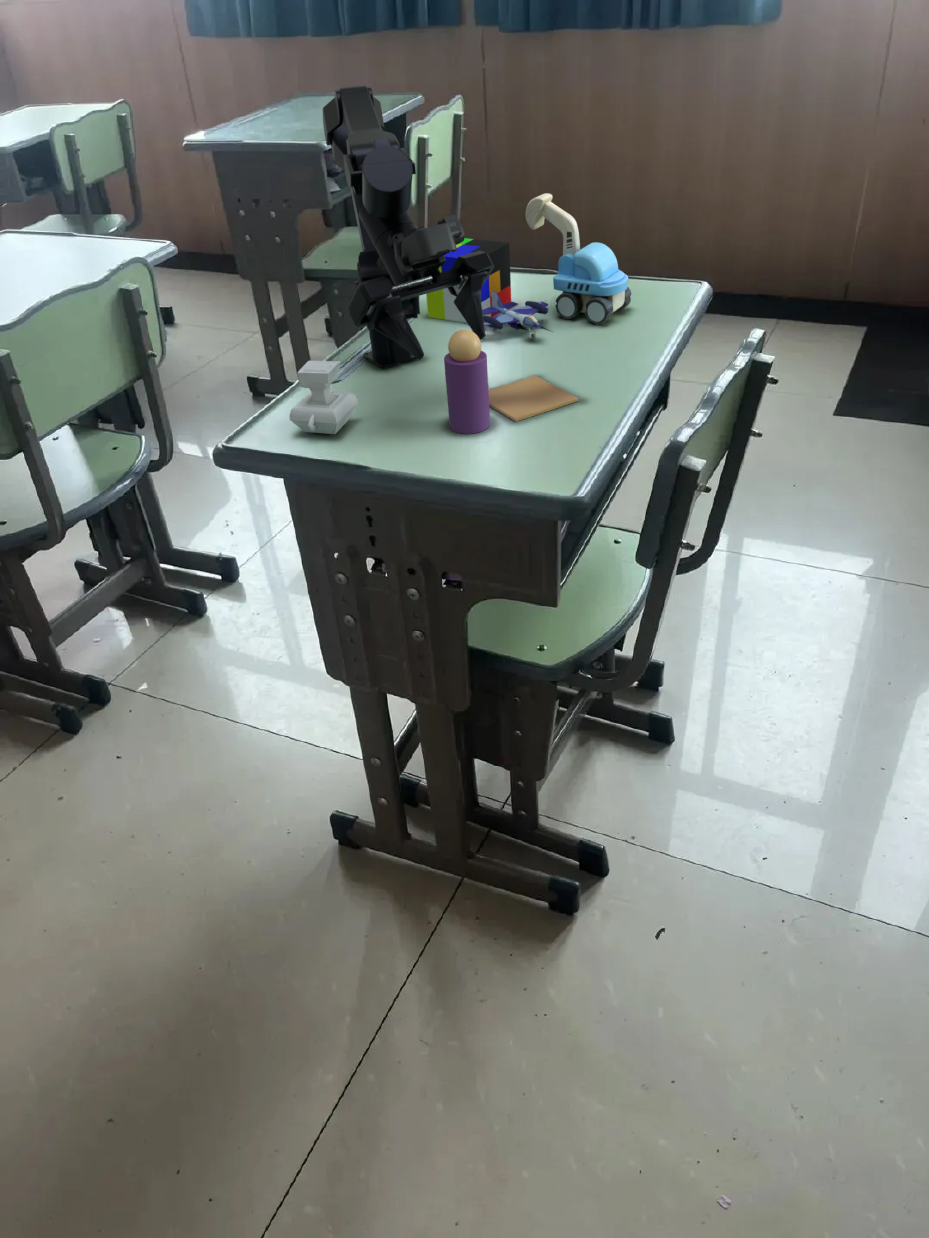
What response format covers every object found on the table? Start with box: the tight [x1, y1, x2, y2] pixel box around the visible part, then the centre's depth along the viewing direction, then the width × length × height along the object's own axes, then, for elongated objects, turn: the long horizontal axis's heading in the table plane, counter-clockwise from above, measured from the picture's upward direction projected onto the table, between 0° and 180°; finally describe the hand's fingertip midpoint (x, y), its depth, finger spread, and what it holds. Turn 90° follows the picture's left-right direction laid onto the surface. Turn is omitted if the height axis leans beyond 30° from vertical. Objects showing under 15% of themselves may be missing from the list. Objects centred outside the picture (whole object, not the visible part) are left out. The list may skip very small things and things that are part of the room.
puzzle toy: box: [425, 237, 512, 324], centre depth 148 cm, size 10×10×10 cm
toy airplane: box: [482, 291, 553, 342], centre depth 141 cm, size 13×14×4 cm
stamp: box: [289, 360, 359, 435], centre depth 116 cm, size 9×7×8 cm
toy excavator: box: [525, 193, 632, 326], centre depth 143 cm, size 9×17×17 cm, turn 54°
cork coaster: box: [488, 375, 579, 423], centre depth 122 cm, size 10×10×1 cm
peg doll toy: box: [443, 329, 491, 435], centre depth 113 cm, size 5×5×12 cm
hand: (453, 347), depth 113 cm, fingers open, 9 cm apart
